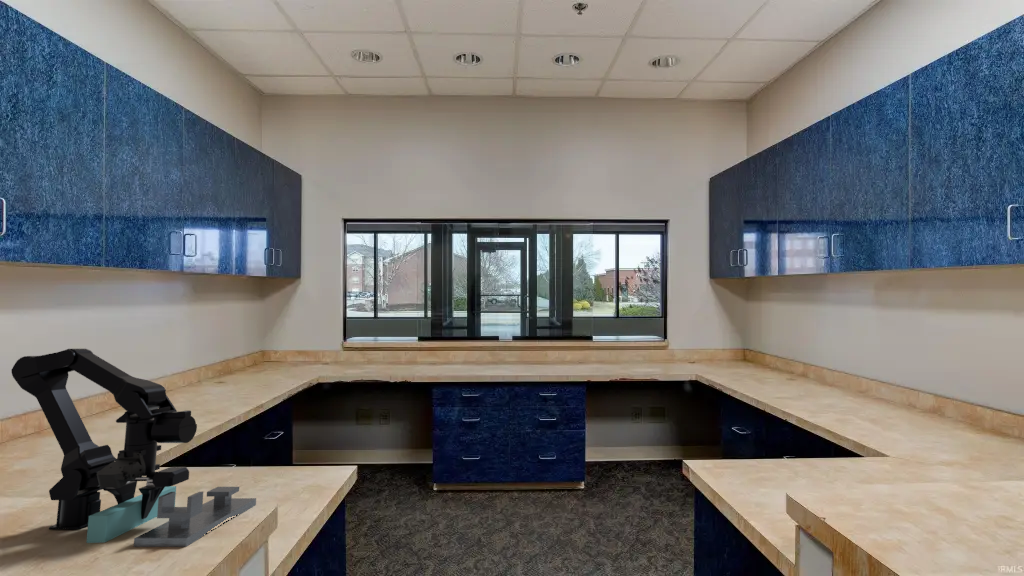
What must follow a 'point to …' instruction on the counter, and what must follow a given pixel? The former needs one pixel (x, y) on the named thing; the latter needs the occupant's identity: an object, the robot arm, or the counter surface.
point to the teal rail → (120, 518)
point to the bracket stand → (192, 517)
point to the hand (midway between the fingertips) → (135, 518)
